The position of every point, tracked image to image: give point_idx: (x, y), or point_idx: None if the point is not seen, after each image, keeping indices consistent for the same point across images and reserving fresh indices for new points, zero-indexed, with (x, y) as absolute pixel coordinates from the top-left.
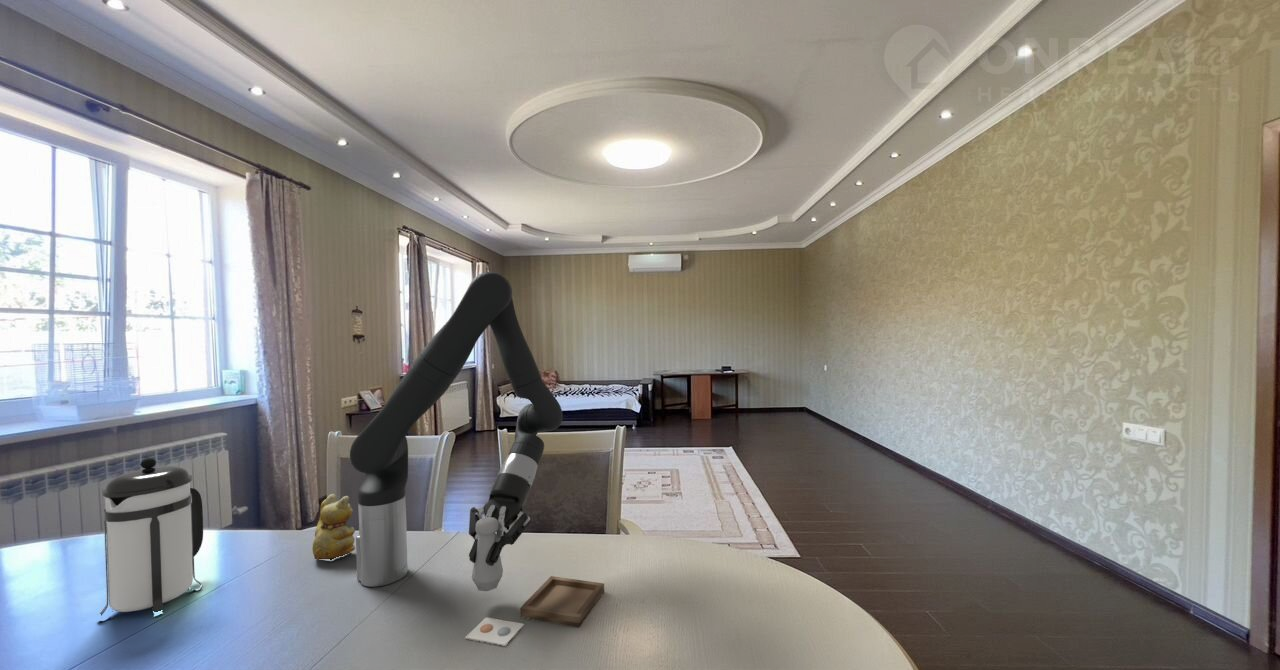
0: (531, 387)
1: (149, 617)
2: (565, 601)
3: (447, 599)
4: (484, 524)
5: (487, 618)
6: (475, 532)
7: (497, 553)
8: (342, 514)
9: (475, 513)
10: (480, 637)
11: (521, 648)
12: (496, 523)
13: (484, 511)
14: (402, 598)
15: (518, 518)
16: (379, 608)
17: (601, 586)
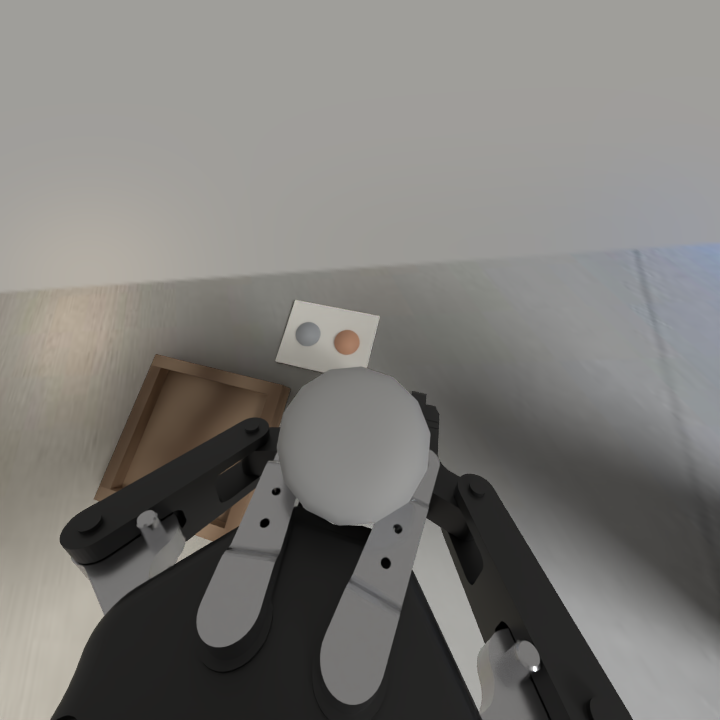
0: None
1: None
2: (194, 435)
3: (502, 465)
4: (341, 374)
5: None
6: (455, 498)
7: None
8: None
9: (538, 654)
10: (348, 316)
11: (266, 299)
12: (280, 431)
13: (453, 670)
14: (642, 472)
15: (142, 515)
16: (669, 421)
17: (101, 482)
